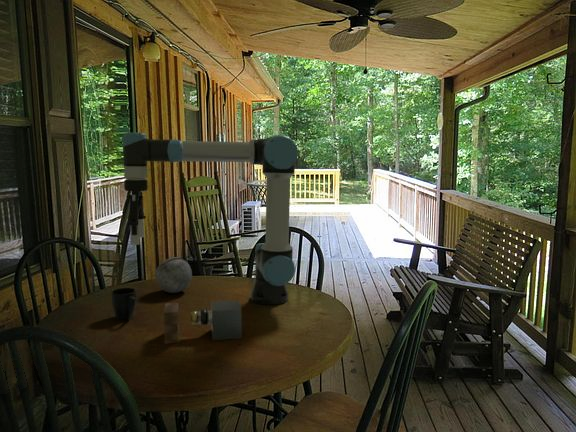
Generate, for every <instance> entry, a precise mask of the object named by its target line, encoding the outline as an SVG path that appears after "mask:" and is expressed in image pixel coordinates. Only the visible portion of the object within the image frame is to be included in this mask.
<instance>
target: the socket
mask: <svg viewBox="0 0 576 432" xmlns="http://www.w3.org/2000/svg"><path fill="white" fill-rule="evenodd" d="M179 313H180V312H179V303H178V302H170V303H169V302H168V303H165V305H164V311H163V328H164V329H163V330H164V331H163V332H164V337H163V338H164V339H163V340H164V344H178V343H179V334H180V333H179V332H180V329H179V328H180V327H179V324H180V321H179V320H180V319H179Z"/></svg>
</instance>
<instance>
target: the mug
mask: <svg viewBox="0 0 576 432" xmlns="http://www.w3.org/2000/svg"><path fill="white" fill-rule="evenodd" d="M110 295H111V296H110V299H111V300H110V301H111V307H112V310H113V314H114V316H115V319H117V320H121V321H122V320H123V321H125V320H130V319H132V318H133V316H134V312H135V309H136V304H137V290H136V289H135V288H133V287H120V288H117V289H113V290H112V291H111V293H110Z"/></svg>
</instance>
